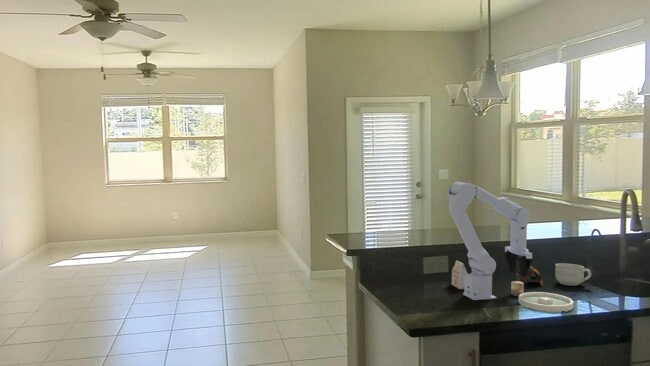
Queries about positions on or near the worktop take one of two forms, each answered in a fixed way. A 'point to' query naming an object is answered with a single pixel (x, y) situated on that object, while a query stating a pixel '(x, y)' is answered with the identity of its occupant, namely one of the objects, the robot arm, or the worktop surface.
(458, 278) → the white rectangular block
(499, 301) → the worktop surface
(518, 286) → the maple bead
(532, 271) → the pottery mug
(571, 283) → the teacup
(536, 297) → the groove tray
